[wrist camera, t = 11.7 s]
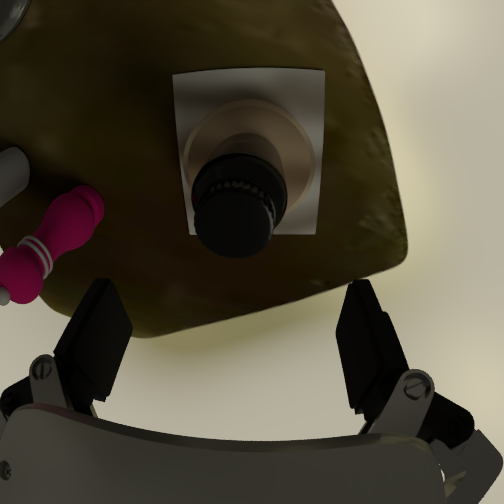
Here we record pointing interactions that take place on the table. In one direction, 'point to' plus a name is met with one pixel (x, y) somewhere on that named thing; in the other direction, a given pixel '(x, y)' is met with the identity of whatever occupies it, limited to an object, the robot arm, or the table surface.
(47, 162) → the table surface
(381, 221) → the table surface
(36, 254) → the pepper mill
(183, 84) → the pedestal
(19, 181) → the can
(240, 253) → the supplement bottle
